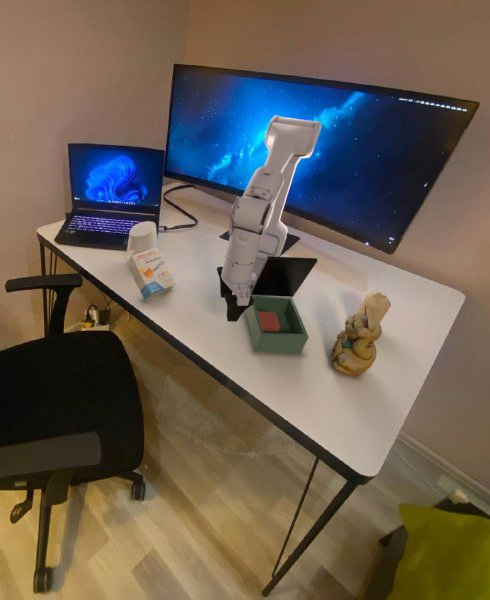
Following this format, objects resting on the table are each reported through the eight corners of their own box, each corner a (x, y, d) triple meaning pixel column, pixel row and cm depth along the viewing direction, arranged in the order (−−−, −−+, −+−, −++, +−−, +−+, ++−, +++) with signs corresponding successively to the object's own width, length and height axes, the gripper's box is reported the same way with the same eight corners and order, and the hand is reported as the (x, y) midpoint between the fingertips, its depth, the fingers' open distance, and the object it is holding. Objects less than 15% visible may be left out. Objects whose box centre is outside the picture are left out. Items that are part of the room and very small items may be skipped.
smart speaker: (129, 256, 110) (129, 215, 100) (158, 258, 109) (160, 218, 100) (124, 274, 103) (123, 232, 93) (155, 277, 102) (157, 235, 92)
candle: (351, 330, 86) (369, 300, 80) (349, 316, 90) (366, 286, 84) (375, 336, 85) (395, 306, 78) (372, 322, 89) (391, 292, 82)
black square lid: (317, 261, 74) (313, 243, 77) (267, 258, 74) (264, 242, 77) (293, 297, 86) (289, 281, 89) (250, 295, 87) (248, 279, 89)
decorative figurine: (326, 344, 83) (352, 296, 73) (363, 352, 81) (395, 305, 71) (329, 375, 76) (358, 327, 66) (370, 385, 74) (406, 338, 64)
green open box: (300, 354, 80) (308, 337, 77) (254, 351, 81) (260, 334, 77) (285, 313, 91) (292, 297, 87) (245, 311, 91) (249, 295, 87)
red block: (256, 338, 83) (253, 323, 87) (275, 339, 83) (271, 325, 86) (260, 325, 80) (257, 310, 84) (280, 327, 80) (275, 312, 83)
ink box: (150, 294, 89) (125, 245, 91) (144, 300, 94) (120, 253, 96) (176, 283, 93) (152, 236, 95) (169, 290, 97) (146, 245, 99)
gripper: (271, 279, 62) (254, 332, 71) (252, 237, 73) (239, 287, 82) (232, 279, 62) (220, 331, 71) (219, 237, 73) (209, 287, 82)
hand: (228, 308), depth 77 cm, fingers open, 7 cm apart
